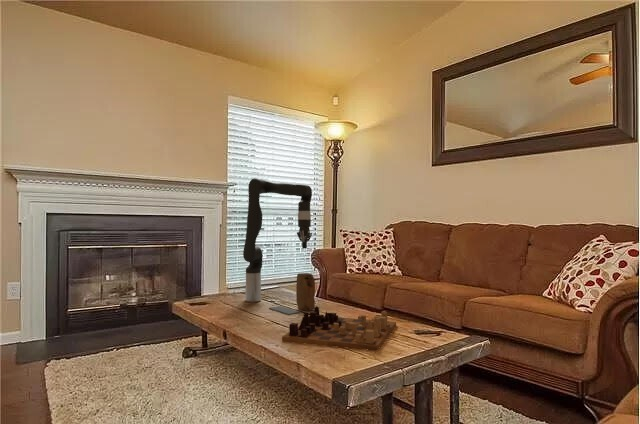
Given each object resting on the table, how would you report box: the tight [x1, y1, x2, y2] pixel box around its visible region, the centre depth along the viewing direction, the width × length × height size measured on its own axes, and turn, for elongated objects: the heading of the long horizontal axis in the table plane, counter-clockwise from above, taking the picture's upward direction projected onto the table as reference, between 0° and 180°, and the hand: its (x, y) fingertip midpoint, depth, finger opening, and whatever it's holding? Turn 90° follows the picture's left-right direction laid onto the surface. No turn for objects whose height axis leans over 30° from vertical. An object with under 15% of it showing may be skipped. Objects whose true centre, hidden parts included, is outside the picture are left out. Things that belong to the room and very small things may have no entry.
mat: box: [268, 305, 301, 316], centre depth 236 cm, size 20×8×1 cm, turn 37°
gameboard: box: [281, 305, 397, 351], centre depth 189 cm, size 40×40×9 cm
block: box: [295, 272, 316, 312], centre depth 239 cm, size 11×8×20 cm
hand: (304, 248), depth 252 cm, fingers closed
